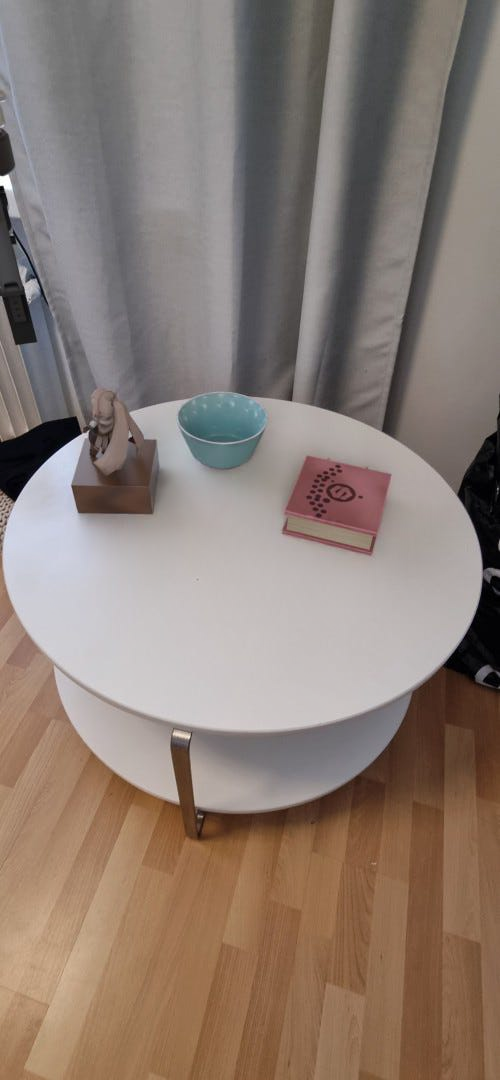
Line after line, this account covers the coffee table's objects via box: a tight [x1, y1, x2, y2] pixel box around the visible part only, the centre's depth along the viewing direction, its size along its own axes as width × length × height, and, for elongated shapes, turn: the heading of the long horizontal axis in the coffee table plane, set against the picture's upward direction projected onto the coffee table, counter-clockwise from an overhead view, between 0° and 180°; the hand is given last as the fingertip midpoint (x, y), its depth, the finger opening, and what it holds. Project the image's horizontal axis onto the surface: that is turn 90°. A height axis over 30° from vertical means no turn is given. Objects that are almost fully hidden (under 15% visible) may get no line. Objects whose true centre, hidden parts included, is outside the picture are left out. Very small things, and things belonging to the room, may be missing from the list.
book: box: [281, 454, 392, 557], centre depth 95 cm, size 14×15×5 cm
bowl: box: [175, 391, 269, 470], centre depth 103 cm, size 16×16×8 cm
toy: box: [81, 386, 145, 476], centre depth 89 cm, size 9×8×15 cm
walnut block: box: [70, 437, 160, 515], centre depth 96 cm, size 12×12×6 cm
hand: (20, 318), depth 79 cm, fingers open, 13 cm apart
